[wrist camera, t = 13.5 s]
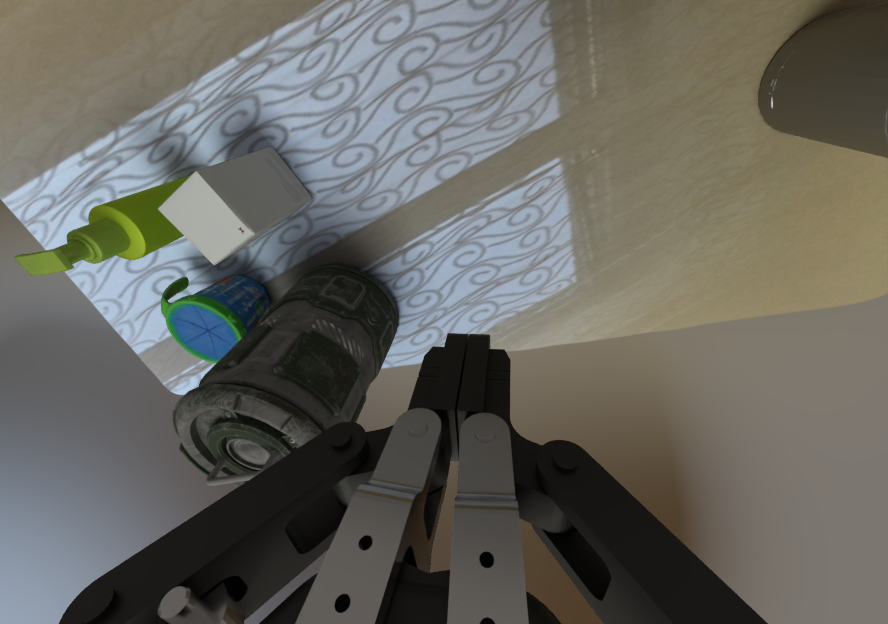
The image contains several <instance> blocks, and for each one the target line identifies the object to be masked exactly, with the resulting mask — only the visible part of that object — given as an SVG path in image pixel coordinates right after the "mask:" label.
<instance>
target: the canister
mask: <svg viewBox="0 0 888 624" xmlns="http://www.w3.org/2000/svg"><path fill="white" fill-rule="evenodd" d="M397 327H398V313H397V308H396V305H395V303H394V301H393V299H392V297H391V295H390V293H389V292H388V291H387V289H386V288H385V287H384V286H383V285H382V284H381V283H380V282H379V281H376V280H375V279H374V278H372V277H371V276H369V275H368V274H366V273H364V272H362V271H360V270H358V269H355V268H352V267H348V266H346V265H339V264H335V265H324V266H320V267H317V268H315V269H313V270H311V271H309V272H308V273H307V274H306V275H305V276H304V277H302V278H301V279H300V280H299V281H298V282H297V283H296V284H295V285H294V286H293V287H292V288H291V289H290V290H289V291H288V292H287V293H286V294H285V295H284V296H283V297H282V298H281V299H280V300H279V301H278V302H277V303H276V304H275V305H274V306H273V307H272V308H271V309H270V310H269V311H268V312H267V313H266V314H265V315H264V316H263V317H262V320H261V322H260V324H259V326H258V327H255V328H253V329H252V330H250V331H249V332H248V333H247V334H246V335H245V336H244V337H243V338H242V339H241V340H240V341H239V342H238V343H237V344H236V345H235V346H234V347H233V348H232V349H231V350H230V351H229V352H228V353H227V354H226V355H225V356H224V357H223V358H222V359H221V360H220V361H219V362H218V363H217V364H216V365H215V366H214V367H213V368H212V369H211V370H210V371H208V372H207V373H206V375H205V376H204V377H203V378H202V380H201V381H200V384H199V387H197V388H195V389H193V390H191V391H189V392H188V393H187V394H186V395H184V396H183V397H182V398H181V399H180V400H179V401H178V402H177V403H176V406H175V408H174V410H173V424H174V427H175V431H176V433H177V435H178V436H179V438H180V440H181V445H180V448H179V449H180V451H181V452H182V453H183V454H184V456H185V457H186V458H187V459H188V460H189V461H190V462H191V463H192V464H193V465H194V466H195V467H196V468H197V469H199V470H200V471H201V472H203V473H204V474H205V475H207V476H208V477H207V479H206V483H207V485H210V486H213V485H221V484H228V483H229V484H231V485H233V486H235V487H239V486H241V485H242V484H244V483H245V482H247V481H248V480H250V479H251V478H253V477H255V476H256V475H258V474H259V473H261V472H262V471H264V470H265V469H267V468H268V467H270V466H271V465H273V464H274V463H276V462H278V461H279V460H281V459H282V458H284V457H285V456H287V455H288V454H290V453H291V452H293V451H294V450H296V449H297V448H299V447H301V446H302V445H304V444H305V443H307V442H308V441H310V440H311V439H313V438H314V437H316V436H317V435H319V434H320V433H322V432H324V431H325V430H327V429H328V428H330V427H331V426H333V425H335V424H338V423H341V422H354V423H356V421H357V419H358V417H359V414H360V412H361V410H362V408H363V405H364V403H365V401H366V392H367V390H368V388H369V386H370V383H371V382H373V380H374V379H375V378H376V377H377V375H378V373H379V371H380V369H381V367H382V364H383V362H384V360H385V358H386V355H387V353H388V351H389V349H390V346H391V344H392V342H393V339H394V337H395V334H396V332H397Z"/></svg>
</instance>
